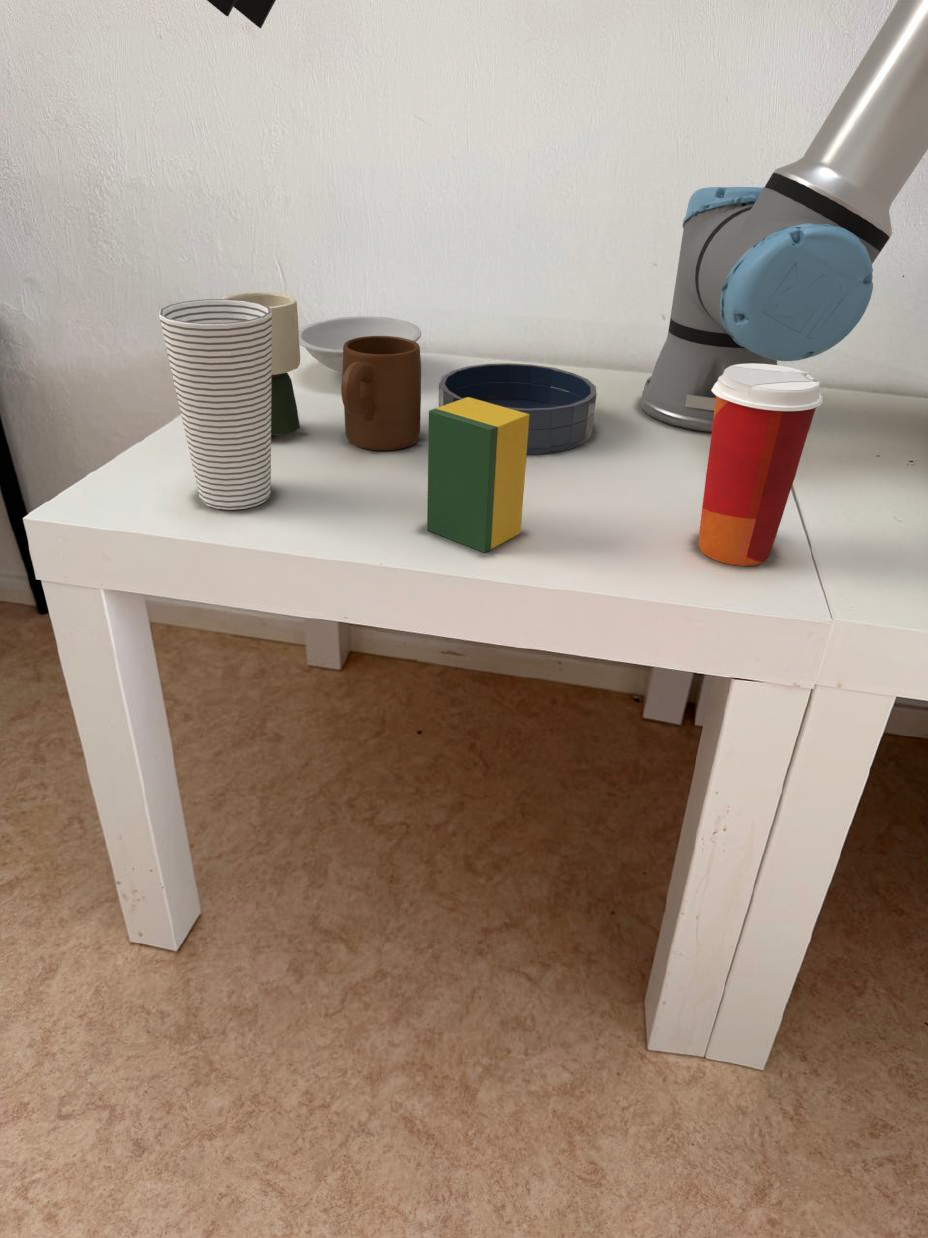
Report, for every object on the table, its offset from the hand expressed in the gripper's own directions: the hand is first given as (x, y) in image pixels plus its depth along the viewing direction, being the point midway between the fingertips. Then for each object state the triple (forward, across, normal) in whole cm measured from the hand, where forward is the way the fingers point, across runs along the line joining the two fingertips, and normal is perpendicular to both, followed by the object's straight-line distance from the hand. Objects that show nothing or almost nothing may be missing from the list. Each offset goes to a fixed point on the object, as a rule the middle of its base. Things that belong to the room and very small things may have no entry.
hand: (229, 10), depth 69 cm
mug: (+23, -1, +29) cm, 37 cm away
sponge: (+18, +18, +37) cm, 45 cm away
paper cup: (+6, +20, +54) cm, 58 cm away
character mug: (+29, -4, +20) cm, 36 cm away
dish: (+25, -25, +26) cm, 44 cm away
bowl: (+15, -8, +41) cm, 44 cm away
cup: (+30, +12, +20) cm, 38 cm away
